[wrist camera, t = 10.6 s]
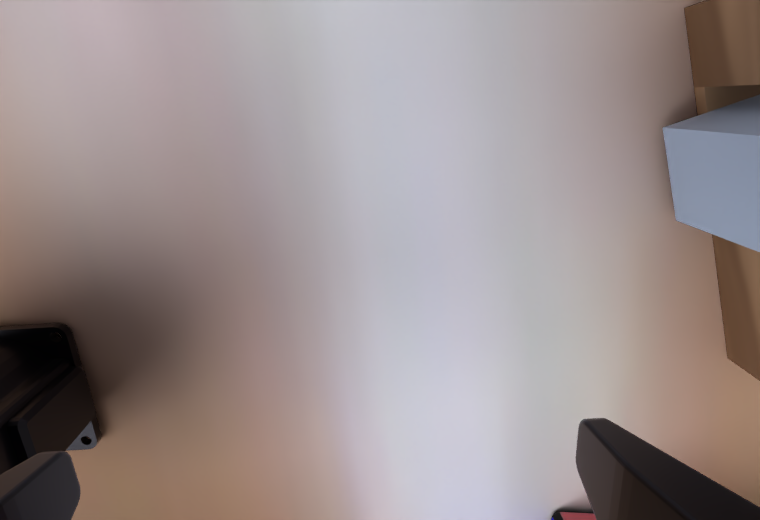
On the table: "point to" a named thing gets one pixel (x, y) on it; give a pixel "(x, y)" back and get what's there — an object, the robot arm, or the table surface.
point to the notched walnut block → (713, 91)
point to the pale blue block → (718, 171)
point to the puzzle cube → (573, 516)
